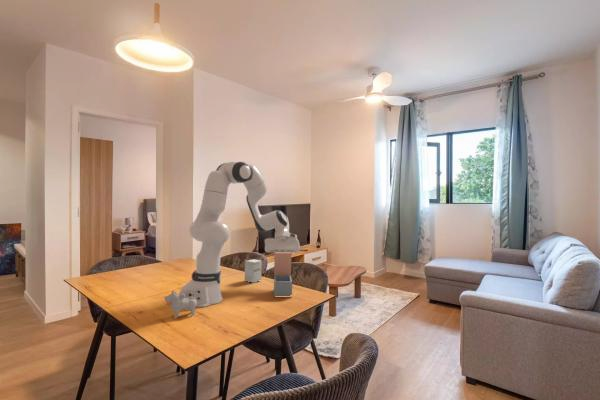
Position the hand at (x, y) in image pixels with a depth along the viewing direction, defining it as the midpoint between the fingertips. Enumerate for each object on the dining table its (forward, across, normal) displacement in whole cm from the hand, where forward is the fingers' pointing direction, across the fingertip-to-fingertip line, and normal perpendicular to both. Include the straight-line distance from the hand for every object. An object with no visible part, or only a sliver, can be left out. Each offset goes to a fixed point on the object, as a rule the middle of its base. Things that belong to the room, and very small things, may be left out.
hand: (282, 257), depth 169 cm
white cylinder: (+2, -17, +23) cm, 29 cm away
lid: (+5, 0, -1) cm, 5 cm away
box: (+18, 0, +6) cm, 19 cm away
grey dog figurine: (+39, -44, -14) cm, 60 cm away
